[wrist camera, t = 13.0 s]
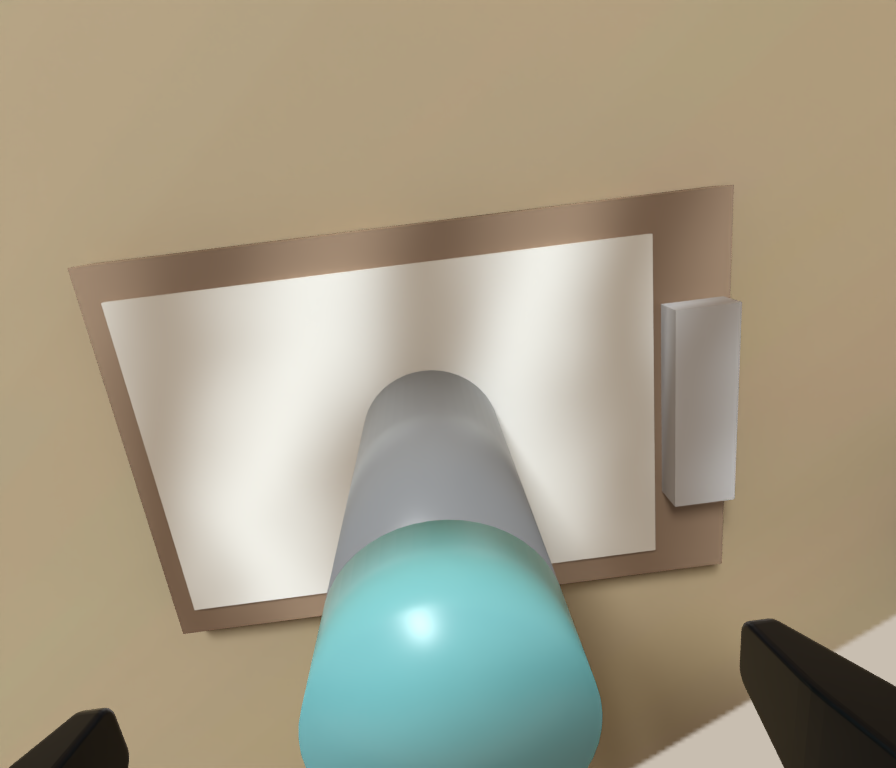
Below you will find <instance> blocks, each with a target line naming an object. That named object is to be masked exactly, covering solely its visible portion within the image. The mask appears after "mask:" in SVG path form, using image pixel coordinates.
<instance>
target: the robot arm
mask: <svg viewBox="0 0 896 768" xmlns="http://www.w3.org/2000/svg"><path fill="white" fill-rule="evenodd" d="M740 673H741V677H742V680H743V683H744V686H745V688H746V690H747V692H748V694H749V696H750V698H751V700H752V702H753V704H754V706H755V709H756V710H757V713H758V715H759V716H760V719H761V721H762V723H763V725H764V727H765V729H766V731H767V733H768V735H769V737H770V739H771V742H772V744H773V746H774V748H775V749H776V752H777V754H778V756H779V758H780V760H781V762H782V764H783V766H784V768H896V687H895V686H894V685H892V684H890V683H888V682H887V681H885V680H883V679H881V678H880V677H878V676H876V675H874V674H872V673H870V672H869V671H867V670H865V669H863V668H862V667H860V666H858V665H856V664H854V663H853V662H851V661H849V660H847V659H846V658H844V657H842V656H840V655H838V654H837V653H835V652H833V651H831V650H829V649H828V648H826V647H824V646H822V645H821V644H819V643H817V642H815V641H813V640H812V639H810V638H808V637H806V636H804V635H803V634H801V633H799V632H797V631H795V630H794V629H792V628H790V627H788V626H787V625H785V624H783V623H781V622H779V621H777V620H775V619H761V620H754V621H748V622H746V623H744V625H743V627H742V631H741V650H740ZM128 764H129V752H128V748H127V745H126V742H125V740H124V737H123V735H122V732H121V729H120V727H119V724H118V722H117V719H116V716H115V714H114V712H113V711H112V710H110V709H109V708H100V709H92V710H85V711H81V712H78V713H76V714H75V715H73V716H72V717H71V718H70V719H68V720H67V721H66V722H65V723H63V724H62V725H61V726H60V727H58V728H57V729H56V730H55V731H54V732H52V733H51V734H50V735H49V736H47V737H46V738H45V739H44V740H42V741H41V742H40V743H39V744H37V745H36V746H35V747H34V748H33V749H31V750H30V751H29V752H28V753H26V754H25V755H24V756H23V757H21V758H20V759H19V760H18V761H16V762H15V763H14V764H13V765H12V766H10V767H9V768H128Z"/></svg>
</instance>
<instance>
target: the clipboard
mask: <svg viewBox="0 0 896 768" xmlns="http://www.w3.org/2000/svg"><path fill="white" fill-rule="evenodd" d="M733 191H734V185H723V186H711V187H703V188H695V189H687V190H679V191H671V192H663V193H655V194H647V195H639V196H631V197H623V198H615V199H607V200H599V201H591V202H583V203H575V204H567V205H559V206H551V207H543V208H535V209H527V210H519V211H511V212H503V213H495V214H487V215H479V216H471V217H463V218H455V219H447V220H439V221H431V222H423V223H415V224H406V225H398V226H390V227H382V228H374V229H366V230H358V231H350V232H342V233H334V234H326V235H318V236H310V237H302V238H294V239H286V240H278V241H270V242H262V243H254V244H246V245H238V246H230V247H222V248H214V249H206V250H198V251H190V252H182V253H174V254H166V255H158V256H150V257H142V258H134V259H126V260H118V261H110V262H102V263H94V264H87V265H82V266H76V267H71V268H68V272H69V275H70V278H71V281H72V284H73V287H74V290H75V294H76V297H77V300H78V303H79V306H80V309H81V313H82V316H83V319H84V322H85V325H86V328H87V331H88V335H89V338H90V341H91V344H92V347H93V350H94V354H95V357H96V360H97V363H98V366H99V369H100V372H101V376H102V379H103V382H104V385H105V388H106V391H107V395H108V398H109V401H110V404H111V407H112V410H113V413H114V417H115V420H116V423H117V426H118V429H119V432H120V436H121V439H122V442H123V445H124V448H125V451H126V454H127V458H128V461H129V464H130V467H131V470H132V473H133V477H134V480H135V483H136V486H137V489H138V492H139V495H140V499H141V502H142V505H143V508H144V511H145V514H146V518H147V521H148V524H149V527H150V530H151V533H152V536H153V540H154V543H155V546H156V549H157V552H158V555H159V559H160V562H161V565H162V568H163V571H164V574H165V577H166V581H167V584H168V587H169V590H170V593H171V596H172V600H173V603H174V606H175V609H176V612H177V615H178V618H179V622H180V625H181V628H182V631H183V634H186V633H194V632H201V631H209V630H217V629H224V628H232V627H239V626H247V625H255V624H262V623H270V622H278V621H285V620H293V619H301V618H308V617H316V616H322V613H323V609H324V604H325V600H326V595H327V591H328V586H329V582H330V577H331V572H332V568H333V563H334V559H335V554H336V550H337V545H338V541H339V536H340V532H341V527H342V523H343V518H344V513H345V509H346V504H347V500H348V495H349V491H350V486H351V482H352V477H353V473H354V468H355V463H356V459H357V454H358V450H359V445H360V441H361V436H362V432H363V427H364V423H365V418H366V415H367V412H368V410H369V408H370V406H371V404H372V402H373V401H374V399H375V398H376V396H377V395H378V394H379V393H380V392H381V391H382V390H383V389H384V388H385V387H386V386H388V385H389V384H390V383H392V382H393V381H395V380H396V379H398V378H401V377H403V376H405V375H408V374H411V373H414V372H419V371H427V370H437V371H445V372H450V373H453V374H456V375H459V376H461V377H463V378H465V379H467V380H469V381H470V382H472V383H473V384H475V385H476V386H477V387H478V388H479V389H480V390H481V391H482V392H483V393H484V394H485V395H486V396H487V398H488V399H489V401H490V402H491V404H492V406H493V408H494V410H495V413H496V416H497V419H498V421H499V424H500V427H501V429H502V432H503V435H504V437H505V440H506V443H507V445H508V448H509V451H510V454H511V456H512V459H513V462H514V464H515V467H516V470H517V472H518V475H519V478H520V480H521V483H522V486H523V488H524V491H525V494H526V497H527V499H528V502H529V505H530V507H531V510H532V513H533V515H534V518H535V521H536V523H537V526H538V529H539V531H540V534H541V537H542V540H543V542H544V545H545V548H546V550H547V553H548V556H549V558H550V561H551V564H552V566H553V569H554V572H555V575H556V577H557V580H558V583H559V585H560V584H568V583H575V582H583V581H590V580H598V579H606V578H613V577H621V576H629V575H636V574H644V573H652V572H659V571H667V570H674V569H682V568H690V567H697V566H705V565H713V564H720V563H722V537H723V506H724V501H725V500H732V499H734V496H735V470H736V444H737V418H738V391H739V365H740V339H741V313H742V302H740V301H737V300H734V299H731V298H730V285H731V254H732V222H733Z"/></svg>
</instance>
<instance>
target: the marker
mask: <svg viewBox="0 0 896 768" xmlns="http://www.w3.org/2000/svg"><path fill="white" fill-rule="evenodd" d="M601 730H602V706H601V698H600V695H599V691H598V688H597V685H596V682H595V679H594V677H593V674H592V671H591V669H590V666H589V663H588V661H587V658H586V655H585V652H584V650H583V647H582V644H581V642H580V639H579V636H578V634H577V631H576V628H575V626H574V623H573V620H572V618H571V615H570V612H569V609H568V607H567V604H566V601H565V599H564V596H563V593H562V591H561V588H560V585H559V583H558V580H557V577H556V575H555V572H554V569H553V566H552V564H551V561H550V558H549V556H548V553H547V550H546V548H545V545H544V542H543V540H542V537H541V534H540V531H539V529H538V526H537V523H536V521H535V518H534V515H533V513H532V510H531V507H530V505H529V502H528V499H527V497H526V494H525V491H524V488H523V486H522V483H521V480H520V478H519V475H518V472H517V470H516V467H515V464H514V462H513V459H512V456H511V454H510V451H509V448H508V445H507V443H506V440H505V437H504V435H503V432H502V429H501V427H500V424H499V421H498V419H497V416H496V413H495V410H494V408H493V406H492V404H491V402H490V401H489V399H488V398H487V396H486V395H485V394H484V393H483V392H482V391H481V390H480V389H479V388H478V387H477V386H476V385H475V384H473V383H472V382H470V381H469V380H467V379H465V378H463V377H461V376H459V375H456V374H453V373H450V372H445V371H437V370H427V371H419V372H414V373H411V374H408V375H405V376H403V377H401V378H398V379H396V380H395V381H393V382H392V383H390V384H389V385H388V386H386V387H385V388H384V389H383V390H382V391H381V392H380V393H379V394H378V395H377V396H376V398H375V399H374V401H373V402H372V404H371V406H370V408H369V410H368V412H367V415H366V418H365V423H364V427H363V432H362V436H361V441H360V445H359V450H358V454H357V459H356V463H355V468H354V473H353V477H352V482H351V486H350V491H349V495H348V500H347V504H346V509H345V513H344V518H343V523H342V527H341V532H340V536H339V541H338V545H337V550H336V554H335V559H334V563H333V568H332V572H331V577H330V582H329V586H328V591H327V595H326V600H325V604H324V609H323V613H322V618H321V622H320V627H319V631H318V636H317V641H316V645H315V650H314V654H313V659H312V663H311V668H310V672H309V677H308V681H307V686H306V691H305V695H304V700H303V704H302V709H301V714H300V720H299V744H300V749H301V755H302V758H303V761H304V763H305V766H306V768H588V766H589V764H590V762H591V760H592V759H593V757H594V754H595V751H596V749H597V746H598V744H599V739H600V734H601Z"/></svg>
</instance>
